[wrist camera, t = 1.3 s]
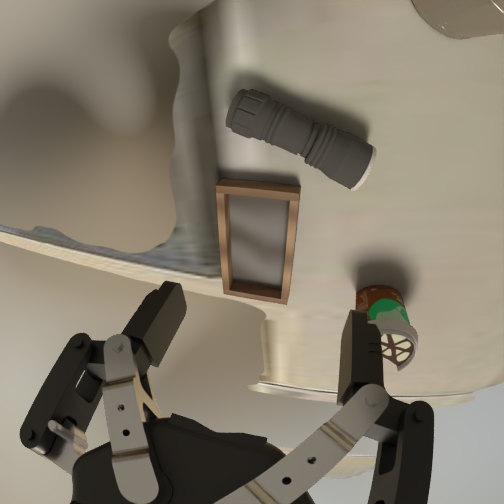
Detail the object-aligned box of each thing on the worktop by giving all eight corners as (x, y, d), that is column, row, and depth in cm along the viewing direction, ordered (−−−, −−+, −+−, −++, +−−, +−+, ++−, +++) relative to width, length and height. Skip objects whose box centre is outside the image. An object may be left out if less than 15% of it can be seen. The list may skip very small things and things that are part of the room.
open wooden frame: (222, 178, 35) (215, 185, 33) (300, 186, 33) (299, 193, 31) (228, 283, 45) (223, 293, 43) (289, 293, 43) (286, 304, 41)
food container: (422, 306, 39) (433, 355, 31) (394, 324, 42) (399, 372, 34) (380, 264, 36) (390, 317, 28) (350, 287, 40) (351, 340, 32)
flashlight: (215, 135, 26) (230, 89, 22) (234, 119, 30) (248, 79, 26) (351, 199, 27) (379, 160, 23) (351, 175, 30) (374, 140, 26)
